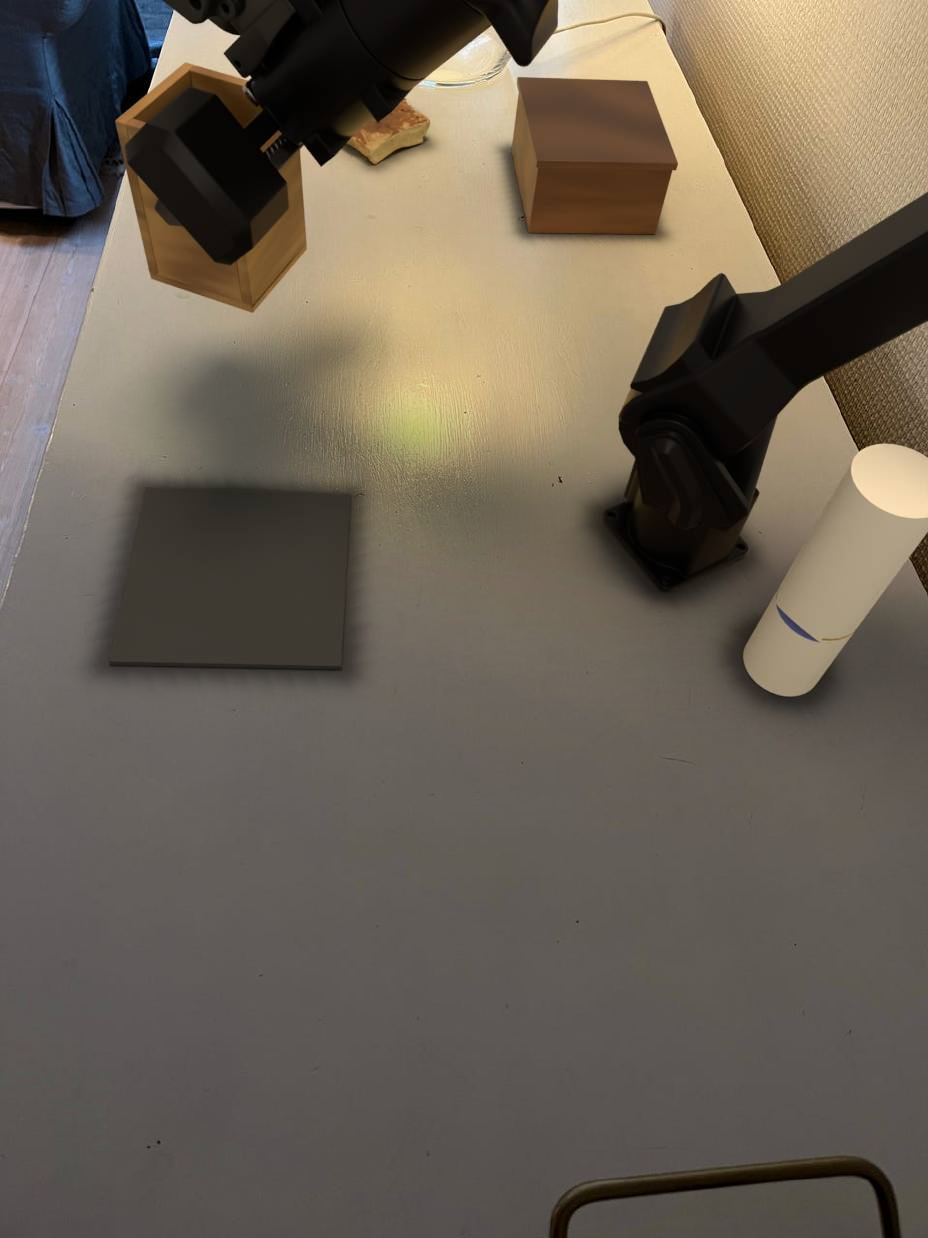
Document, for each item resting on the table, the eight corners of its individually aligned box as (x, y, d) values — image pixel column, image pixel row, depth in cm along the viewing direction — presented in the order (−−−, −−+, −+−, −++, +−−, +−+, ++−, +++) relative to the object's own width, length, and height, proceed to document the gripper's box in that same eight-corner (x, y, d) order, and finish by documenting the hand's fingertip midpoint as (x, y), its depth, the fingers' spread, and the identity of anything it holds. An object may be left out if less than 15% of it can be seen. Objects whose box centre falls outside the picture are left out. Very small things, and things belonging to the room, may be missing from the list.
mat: (341, 669, 52) (341, 666, 52) (110, 665, 51) (108, 661, 51) (351, 498, 59) (350, 493, 59) (146, 491, 58) (144, 486, 58)
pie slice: (284, 107, 82) (282, 85, 81) (354, 79, 86) (354, 58, 84) (369, 167, 78) (369, 145, 77) (439, 136, 82) (440, 114, 80)
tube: (815, 635, 56) (941, 450, 44) (823, 701, 54) (959, 524, 41) (740, 626, 56) (845, 438, 44) (745, 691, 54) (857, 511, 41)
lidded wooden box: (658, 235, 76) (678, 163, 71) (526, 234, 75) (537, 159, 70) (630, 152, 83) (647, 80, 78) (508, 149, 81) (517, 76, 76)
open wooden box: (307, 249, 57) (296, 93, 50) (253, 313, 54) (232, 156, 46) (210, 218, 58) (185, 61, 51) (150, 279, 55) (114, 120, 47)
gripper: (360, -251, 43) (179, -32, 54) (115, -99, 33) (-47, 133, 44) (509, -9, 48) (317, 146, 59) (338, 187, 38) (144, 331, 49)
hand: (197, 181), depth 52 cm, fingers closed on open wooden box, 6 cm apart
